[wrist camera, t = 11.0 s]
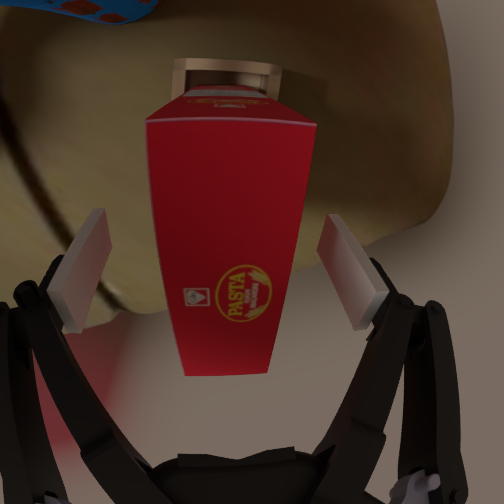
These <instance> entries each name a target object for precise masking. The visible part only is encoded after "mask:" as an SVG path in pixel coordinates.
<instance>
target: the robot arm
mask: <svg viewBox="0 0 504 504" xmlns="http://www.w3.org/2000/svg"><path fill="white" fill-rule="evenodd" d="M111 249H112V244H111V239H110V234H109V229H108V223H107V218H106V212H105V208H101V209H93V210H92V212H91V213H90V215H89V216H88V218H87V219H86V221H85V222H84V224H83V226H82V227H81V229H80V230H79V232H78V234H77V235H76V237H75V239H74V240H73V242H72V244H71V245H70V247H69V249H68V250H67V252H66V254H65V255H59V256H58V257H56V258H55V259H54V260H53V261H52V263H51V265H50V267H49V270H47V272H46V275H45V276H44V278H43V280H42V282H41V283H40V285H39V287H38V286H37V284H36V282H35V281H32V280H27V281H24V282H22V283H20V284H19V285H18V286H17V287H16V288H15V290H14V293H13V298H14V299H15V301H16V303H17V305H18V306H19V307H16V308H11V309H10V308H9V306H8V305H7V303H6V302H0V472H1V476H2V479H3V494H4V504H72V503H70V502H69V501H68V498H67V494H66V490H65V487H64V484H63V481H62V478H61V475H60V472H59V470H58V467H57V464H56V461H55V458H54V456H53V452H52V449H51V446H50V442H49V439H48V436H47V432H46V428H45V424H44V420H43V416H42V412H41V407H40V402H39V397H38V391H37V385H36V379H35V371H34V363H33V354H32V349H33V351H34V354H35V357H36V360H37V363H38V365H39V367H40V370H41V373H42V375H43V377H44V380H45V382H46V384H47V387H48V389H49V391H50V393H51V396H52V398H53V400H54V402H55V404H56V406H57V408H58V410H59V412H60V414H61V416H62V418H63V420H64V421H65V423H66V425H67V427H68V429H69V430H70V432H71V434H72V436H73V437H74V439H75V441H76V442H77V444H78V446H79V448H80V450H81V452H80V455H81V457H82V459H83V461H84V463H85V464H86V466H87V467H88V469H89V470H90V472H91V473H92V474H93V476H94V477H95V479H96V480H97V481H98V483H99V484H100V485H101V487H102V488H103V489H104V490H105V492H106V493H107V494H108V496H109V497H110V498H111V499H112V500H113V502H114V503H115V504H385V503H383V502H381V501H380V500H378V499H377V498H375V497H373V496H372V495H371V494H369V493H367V492H366V491H364V490H365V488H366V486H367V484H368V481H369V479H370V477H371V475H372V473H373V471H374V468H375V466H376V464H377V461H378V459H379V457H380V454H381V452H382V449H383V447H384V444H385V441H386V435H385V434H384V433H383V430H384V427H385V424H386V421H387V419H388V416H389V413H390V410H391V406H392V404H393V400H394V397H395V394H396V390H397V387H398V384H399V380H400V376H401V372H402V368H403V365H404V402H403V421H402V432H401V443H400V451H399V459H398V481H397V482H396V484H395V485H394V487H393V488H392V489H391V490H390V493H389V496H390V498H391V501H390V503H389V504H465V502H466V500H467V497H468V486H467V480H466V475H465V470H464V465H463V460H462V456H461V452H460V439H461V438H460V436H461V435H460V434H461V433H460V432H461V431H460V404H459V391H458V382H457V373H456V365H455V358H454V351H453V346H452V340H451V335H450V329H449V325H448V320H447V316H446V312H445V309H444V308H443V307H442V305H441V304H439V303H438V302H436V301H433V300H430V301H428V302H427V303H426V305H425V306H424V307H423V306H418V305H414V303H413V301H412V300H411V299H410V298H409V297H407V296H406V295H403V294H399V293H398V292H397V290H396V288H395V287H394V285H393V283H392V282H391V280H390V279H389V277H387V274H386V273H385V272H384V270H383V268H382V267H381V265H380V264H379V263H378V262H377V261H376V260H375V259H373V258H368V256H367V255H366V254H365V252H364V250H363V249H362V247H361V246H360V244H359V243H358V241H357V240H356V238H355V237H354V236H353V234H352V233H351V231H350V230H349V228H348V227H347V226H346V224H345V223H344V221H343V220H342V219H341V217H340V216H339V215H338V214H327V217H326V220H325V224H324V227H323V231H322V234H321V237H320V241H319V244H318V247H317V252H318V254H319V256H320V258H321V260H322V262H323V264H324V266H325V268H326V270H327V272H328V274H329V276H330V278H331V280H332V283H333V285H334V287H335V289H336V291H337V293H338V295H339V298H340V300H341V302H342V304H343V306H344V309H345V311H346V313H347V315H348V317H349V319H350V322H351V324H352V327H353V329H354V331H356V330H363V329H367V328H368V326H369V325H370V323H371V321H372V323H373V325H374V329H373V330H372V332H371V333H370V335H369V336H368V338H367V339H366V340H367V341H368V343H367V345H366V348H365V350H364V353H363V356H362V358H361V361H360V363H359V365H358V368H357V370H356V373H355V375H354V377H353V379H352V382H351V384H350V386H349V389H348V391H347V393H346V395H345V397H344V399H343V402H342V403H341V405H340V408H339V410H338V412H337V414H336V416H335V418H334V420H333V421H332V424H331V425H330V427H329V429H328V431H327V433H326V435H325V437H324V438H323V440H322V441H321V442H320V443H319V445H318V446H317V447H316V449H315V450H314V452H313V453H312V455H311V454H308V453H305V452H300V451H295V449H294V446H293V447H287V448H280V449H272V450H266V451H263V452H260V453H257V454H254V455H252V456H249V457H245V458H242V459H238V460H236V459H229V458H224V457H218V456H213V455H208V454H178V458H175V459H171V460H168V461H166V462H163V463H161V464H159V465H158V466H156V467H155V468H154V469H153V468H152V467H151V466H150V464H148V462H147V461H146V460H145V459H144V458H143V457H142V456H141V455H140V454H139V453H138V452H137V450H136V449H135V448H134V447H133V446H132V445H131V443H130V442H129V441H128V440H127V438H126V437H125V436H124V434H123V433H122V432H121V430H120V429H119V428H118V426H117V425H116V423H115V422H114V421H113V419H112V418H111V416H110V415H109V413H108V412H107V411H106V409H105V408H104V406H103V405H102V403H101V402H100V400H99V398H98V397H97V395H96V394H95V392H94V390H93V389H92V387H91V385H90V384H89V382H88V380H87V379H86V377H85V375H84V373H83V372H82V370H81V368H80V366H79V364H78V362H77V361H76V359H75V357H74V355H73V353H72V351H71V349H70V347H69V345H68V343H67V341H66V339H65V337H64V334H63V333H62V328H63V325H64V326H65V327H66V329H67V331H68V332H73V333H82V329H83V326H84V323H85V320H86V317H87V313H88V310H89V307H90V304H91V301H92V298H93V296H94V293H95V290H96V287H97V284H98V282H99V279H100V276H101V274H102V271H103V269H104V266H105V264H106V261H107V259H108V256H109V254H110V251H111Z"/></svg>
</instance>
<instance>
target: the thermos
mask: <svg viewBox="0 0 504 504" xmlns="http://www.w3.org/2000/svg"><path fill="white" fill-rule="evenodd" d="M161 1H162V0H0V5H6V6H17V7H26V8H33V9H39V10H45V11H51V12H56V13H61V14H65V15H70V16H74V17H78V18H82V19H86V20H89V21H93V22H98V23H104V24H118V25H121V24H125V23H129V22H133V21H136V20H138V19H139V18H141V17H143V16H145V15H147V14H149V13H150V12H151V11H152V10H153V9H154V8H156V7H157V6H158V5H159V4H160V3H161Z"/></svg>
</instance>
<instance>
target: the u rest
mask: <svg viewBox="0 0 504 504" xmlns="http://www.w3.org/2000/svg"><path fill="white" fill-rule="evenodd" d="M282 68H283V66H282V65H276V64H268V63H261V62H252V61H241V60H228V59H207V58H174V68H173V81H172V98H171V101H172V100H174V99H176V98H177V97H179V96H180V95H182V94H183V93H185V92H187V91H188V90H190V89H191V88H193V87H195V86H196V85H198V84H231V85H245V86H248V87H250V88H252V89H254V90H256V91H258V92H260V93H262V94H264V95H266V96H268V97H270V98H272V99H274V100H276V101H278V95H279V88H280V82H281V75H282Z"/></svg>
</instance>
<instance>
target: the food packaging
mask: <svg viewBox="0 0 504 504" xmlns="http://www.w3.org/2000/svg"><path fill="white" fill-rule="evenodd" d="M316 128H317V123H315V122H313V121H312V120H310V119H308V118H306V117H305V116H303V115H301V114H300V113H298V112H296V111H294V110H292V109H291V108H289V107H287V106H285V105H283V104H281V103H280V102H278V101H276V100H274V99H272V98H270V97H268V96H266V95H264V94H262V93H260V92H258V91H256V90H254V89H252V88H250V87H248V86H245V85H231V84H198V85H196V86H195V87H193V88H191V89H190V90H188V91H187V92H185V93H183V94H182V95H180V96H179V97H177V98H176V99H174V100H172V101H171V102H169V103H168V104H166V105H165V106H164V107H162V108H161V109H159V110H158V111H156V112H155V113H153V114H152V115H151V116H149V117H148V118H146V119H145V140H146V156H147V169H148V180H149V190H150V200H151V208H152V216H153V224H154V231H155V238H156V245H157V251H158V257H159V263H160V269H161V275H162V280H163V286H164V291H165V296H166V301H167V306H168V310H169V315H170V319H171V324H172V328H173V333H174V337H175V341H176V345H177V349H178V353H179V357H180V361H181V365H182V368H183V372H184V376H224V375H246V374H259V373H260V374H261V373H267V371H268V367H269V363H270V359H271V355H272V351H273V347H274V343H275V339H276V335H277V330H278V326H279V322H280V318H281V313H282V309H283V304H284V300H285V295H286V291H287V286H288V281H289V277H290V272H291V268H292V263H293V258H294V253H295V248H296V243H297V238H298V233H299V228H300V222H301V217H302V212H303V206H304V201H305V195H306V189H307V184H308V178H309V172H310V166H311V160H312V154H313V147H314V141H315V134H316Z"/></svg>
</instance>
